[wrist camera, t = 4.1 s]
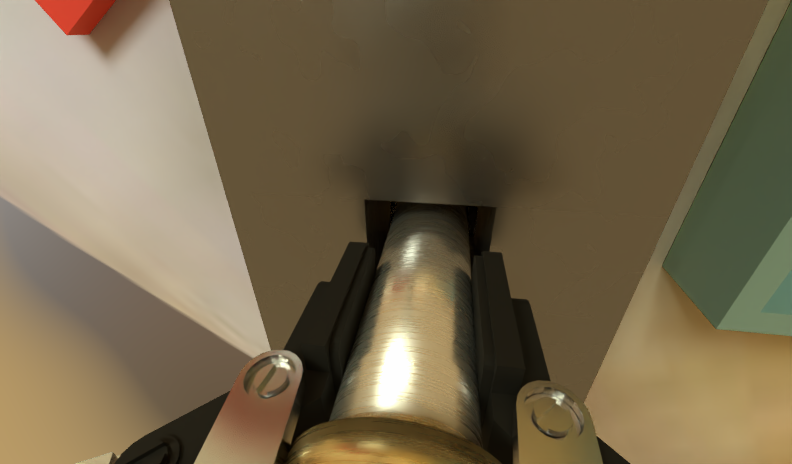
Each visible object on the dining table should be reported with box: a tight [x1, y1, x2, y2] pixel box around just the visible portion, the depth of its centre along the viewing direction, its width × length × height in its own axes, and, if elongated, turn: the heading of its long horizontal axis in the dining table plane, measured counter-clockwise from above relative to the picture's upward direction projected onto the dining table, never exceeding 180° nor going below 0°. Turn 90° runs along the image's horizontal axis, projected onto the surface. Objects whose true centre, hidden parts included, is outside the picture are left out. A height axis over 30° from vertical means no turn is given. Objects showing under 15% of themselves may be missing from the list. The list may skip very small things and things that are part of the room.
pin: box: [285, 201, 502, 464], centre depth 11 cm, size 4×4×13 cm
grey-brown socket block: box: [169, 0, 768, 403], centre depth 14 cm, size 20×14×5 cm
